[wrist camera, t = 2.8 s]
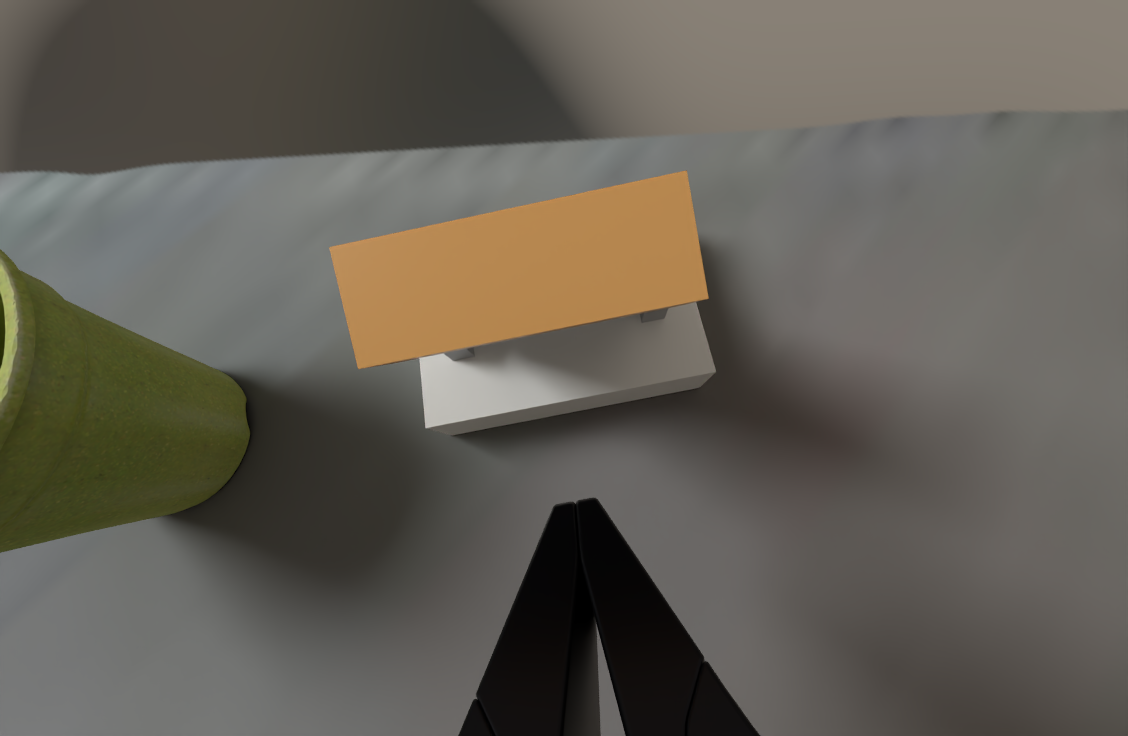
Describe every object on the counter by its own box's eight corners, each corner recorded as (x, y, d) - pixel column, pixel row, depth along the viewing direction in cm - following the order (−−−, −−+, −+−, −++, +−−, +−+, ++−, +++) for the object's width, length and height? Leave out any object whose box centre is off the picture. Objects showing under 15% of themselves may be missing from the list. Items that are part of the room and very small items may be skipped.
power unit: (699, 387, 16) (731, 357, 12) (451, 435, 17) (402, 421, 13) (657, 233, 18) (672, 163, 14) (435, 280, 18) (388, 224, 14)
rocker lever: (632, 319, 14) (715, 297, 6) (481, 349, 15) (351, 370, 6) (623, 267, 14) (694, 168, 6) (470, 299, 14) (323, 248, 6)
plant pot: (334, 383, 18) (93, 297, 9) (203, 603, 16) (-243, 740, 7) (176, 304, 19) (-145, 173, 11) (42, 494, 18) (-465, 507, 9)
